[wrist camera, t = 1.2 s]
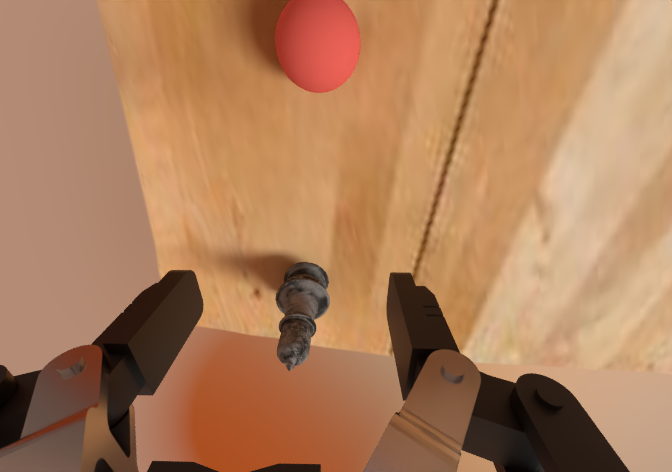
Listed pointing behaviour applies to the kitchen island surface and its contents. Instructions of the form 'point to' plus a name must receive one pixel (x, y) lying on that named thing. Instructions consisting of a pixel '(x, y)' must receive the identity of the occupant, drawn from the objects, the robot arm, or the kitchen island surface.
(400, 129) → the kitchen island surface
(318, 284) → the salt shaker
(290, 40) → the ball
